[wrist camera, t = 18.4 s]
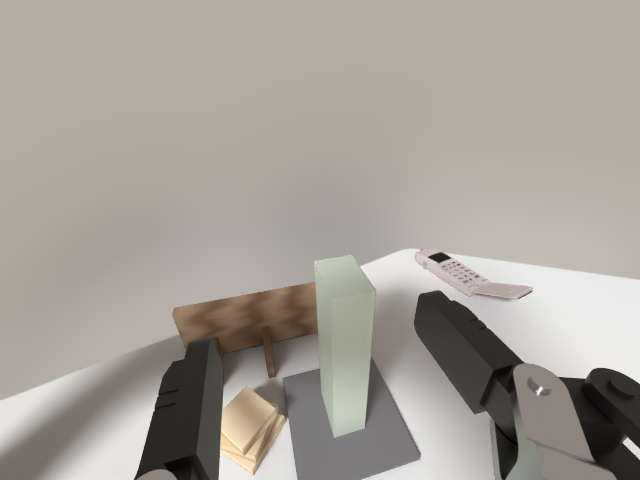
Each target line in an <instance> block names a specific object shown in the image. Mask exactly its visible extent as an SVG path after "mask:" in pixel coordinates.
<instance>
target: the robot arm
mask: <svg viewBox="0 0 640 480" xmlns="http://www.w3.org/2000/svg"><path fill="white" fill-rule="evenodd" d="M414 326H415V330H416V333H417V335H418V336H419V338H420V339H421V341H422V342H423V343H424V345H425V346H426V348H427V349H428V350H429V352H430V353H431V355H432V356H433V357H434V359H435V360H436V361H437V363H438V364H439V366H440V367H441V368H442V370H443V371H444V373H445V374H446V375H447V377H448V378H449V380H450V381H451V382H452V384H453V385H454V387H455V388H456V389H457V391H458V392H459V394H460V395H461V396H462V398H463V399H464V401H465V402H466V403H467V405H468V406H469V407H470V409H471V410H472V412H473V413H474V414H477V413H480V412H484V411H487V412H488V414H489V415H490V416H491V418H490V432H491V442H492V452H493V462H494V472H495V480H640V460H639V459H638V458H637V457H636V456H635V455H634V454H633V453H632V452H631V451H630V450H629V449H628V448H627V447H626V446H625V445H624V444H623V443H622V442H623V441H624V440H625V439H626V438H627V437H628V438H629V439H630V440H631V441H632V442H633V443H634V444H635V445H637V446H638V447H639V448H640V384H639V383H637V382H636V381H635V380H633V379H631V378H630V377H628V376H626V375H624V374H622V373H620V372H617V371H614V370H611V369H606V368H596V369H593V370H592V371H591V372H590V374H589V375H588V376H587V378H586V379H580V378H564V377H557V376H556V375H554V374H553V373H552V372H550V371H548V370H547V369H545V368H543V367H540V366H537V365H534V364H527V363H524V362H523V361H522V360H521V359H520V358H519V357H518V356H517V355H516V354H515V353H514V352H513V351H511V350H510V349H509V348H508V347H507V346H506V345H505V344H504V343H503V342H502V341H501V340H500V339H499V338H498V337H497V336H496V335H495V334H494V333H493V332H492V331H491V330H490V329H487V326H486V325H485V324H484V323H483V322H482V321H481V320H478V318H477V317H476V316H475V315H474V314H473V313H472V312H471V311H470V310H469V309H468V308H467V307H465V306H463V305H461V304H460V303H458V302H456V301H450V300H449V299H448V298H447V296H446V295H445V294H444V293H442V292H441V291H439V290H437V291H432V292H427V293H423V294H420V295H419V297H418V303H417V308H416V314H415V319H414ZM223 384H224V379H223V369H222V364H221V361H220V358H219V355H218V352H217V348H216V345H215V342H214V339H213V338H212V337H210V338H205V339H200V340H196V341H191V342H189V343H188V345H187V350H186V355H185V359H183V360H179V361H174V362H173V363H172V364H171V366H170V367H169V369H168V370H167V372H166V373H165V375H164V376H163V378H162V382H161V385H160V389H159V393H158V395H159V396H158V397H157V401H156V404H155V411H154V412H153V416H152V420H151V423H150V427H149V431H148V435H147V438H146V442H145V446H144V450H143V454H142V457H141V461H140V465H139V468H138V471H137V474H136V476H135V478H134V480H218V477H219V458H220V440H221V421H222V403H223Z"/></svg>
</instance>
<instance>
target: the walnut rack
mask: <svg viewBox="0 0 640 480" xmlns="http://www.w3.org/2000/svg"><path fill="white" fill-rule="evenodd" d="M172 316H173V318H174V321H175V323H176V326H177V328H178V331H179V333H180V336H181V338H182V341H183V343H184V346H185V348H186V350H187V345H188V343H189V342H191V341H196V340H200V339H205V338H210V337H212V338H213V339H214V342H215V345H216V348H217V352H218V355H219V358H220V361H221V364H222V357H223V353H228V352H232V351H237V350H241V349H246V348H250V347H255V346H259V345H264V351H265V361H266V366H267V371H268V376H269V378H272V377H276V376H275V368H274V360H273V352H272V344H271V343H273V342H277V341H282V340H286V339H291V338H295V337H300V336H304V335H309V334H313V333H318V321H317V302H316V284H315V282H312V283H307V284H301V285H296V286H291V287H285V288H280V289H275V290H269V291H264V292H258V293H253V294H247V295H242V296H237V297H231V298H226V299H220V300H215V301H210V302H204V303H199V304H193V305H188V306H183V307H177V308H174V311H173V314H172Z"/></svg>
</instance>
